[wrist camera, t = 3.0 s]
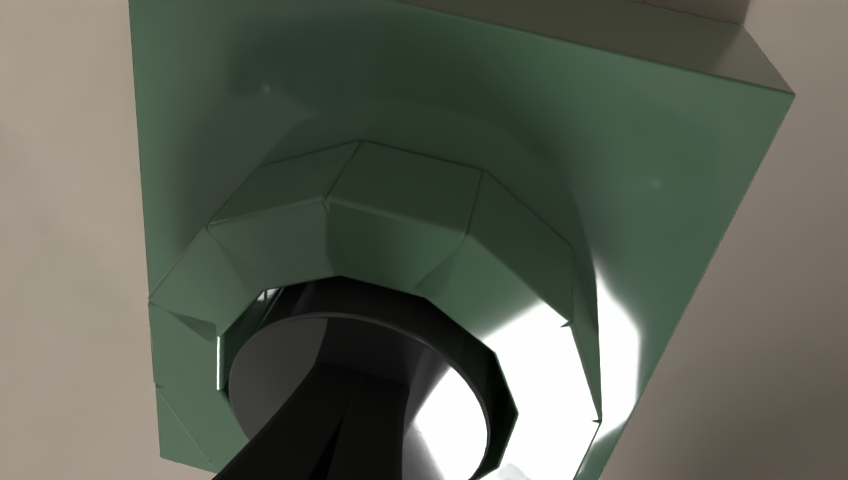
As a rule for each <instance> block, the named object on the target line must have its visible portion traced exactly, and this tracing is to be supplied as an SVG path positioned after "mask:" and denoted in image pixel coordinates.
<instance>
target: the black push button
mask: <svg viewBox="0 0 848 480" xmlns="http://www.w3.org/2000/svg"><path fill="white" fill-rule="evenodd" d="M320 362H325V363H329V364H332V365H336V366H340V367H344V368H347V369H351V370H355V371H359V372H362V373H366V374H370V375H373V376H377V377H381V378H385V379H389V380H392V381H396V382H400V383H404V384H405V386H406V387H407V388H408V390H409V391H410V393H409V397H408V401H407V406H406V412H405V420H404V430H403V448H402V480H471V479H472V478H473V477H474V475H475V474H476V473H477V471H478V470H479V469H480V467H481V466H482V464H483V462H484V460H485V458H486V456H487V453H488V449H489V445H490V441H491V433H492V426H493V418H494V411H495V403H496V396H497V388H498V381H499V373H500V369H499V366H498V364H497V361H496V358H495V356H494V353H493V352H492V351H491V350H490V349H489V348H487V347H486V346H485V345H484V344H482V343H481V342H480V341H479V340H477V339H476V338H475V337H474V336H472V335H471V334H470V333H469V332H467V331H466V330H465V329H464V328H462V327H461V326H460V325H459V324H457V323H456V322H455V321H454V320H452V319H451V318H450V317H449V316H447V315H446V314H445V313H444V312H442V311H441V310H440V309H439V308H437V307H436V306H435V305H434V304H432V303H431V302H430V301H429V300H427V299H426V298H424V297H420V296H416V295H413V294H409V293H405V292H401V291H397V290H393V289H390V288H386V287H382V286H378V285H374V284H370V283H366V282H363V281H359V280H355V279H351V278H347V277H343V276H336V277H331V278H326V279H321V280H316V281H311V282H306V283H301V284H296V285H291V286H285V287H280V288H277V289H276V291H275V293H274V294H273V296H272V297H271V299H270V301H269V302H268V304H267V305H266V307H265V309H264V310H263V312H262V314H261V315H260V317H259V318H258V320H257V322H256V323H255V325H254V326H253V328H252V330H251V331H250V333H249V335H248V336H247V338H246V339H245V341H244V343H243V344H242V346H241V347H240V349H239V351H238V353H237V355H236V356H235V358H234V360H233V363H232V367H231V370H230V376H229V398H230V402H231V407H232V410H233V413H234V415H235V418H236V420H237V423H238V424H239V426H240V428H241V430H242V431H243V433H244V435H245V436H246V437H247V439H248V440H249V441H250V440H251V439H252V438H253V437H254V436H255V435H256V434H257V433H258V432H259V431H260V430H261V429H262V428H263V426H264V425H265V424H266V423H267V422H268V421H269V420H270V419H271V418H272V416H273V415H274V414H275V413H276V412H277V411H278V410H279V409H280V407H281V406H282V405H283V404H284V403H285V402H286V400H287V399H288V398H289V397H290V396H291V394H292V393H293V392H294V391H295V390H296V388H297V387H298V386H299V385H300V383H301V382H302V381H303V379H304V378H305V377H306V376H307V374H308V373H309V371H310V370H311V369H312V367H313V366H314V365H316V364H318V363H320Z"/></svg>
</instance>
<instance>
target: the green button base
mask: <svg viewBox="0 0 848 480" xmlns="http://www.w3.org/2000/svg"><path fill="white" fill-rule="evenodd" d="M129 14H130V29H131V43H132V57H133V72H134V86H135V100H136V115H137V129H138V143H139V157H140V172H141V186H142V200H143V215H144V229H145V243H146V258H147V272H148V286H149V298H148V299H149V303H148V308H149V322H150V336H151V350H152V364H153V377H154V383H155V386H156V401H157V415H158V429H159V444H160V457H161V458H163V459H167V460H171V461H174V462H178V463H181V464H185V465H188V466H192V467H195V468H199V469H203V470H206V471H210V472H213V473H217V474H218V473H219V472H220V471H221V470H222V469H223V468H224V467H225V466H226V465H227V464H228V463H229V462H230V461H231V460H232V459H233V458H234V457H235V456H236V455H237V454H238V453H239V452H240V451H241V450H242V449H243V447H244V446H245V445H246V444H247V443H248V442H249V440H248V439H247V437H246V436H245V435H244V433H243V431H242V430H241V428H240V426H239V424H238V423H237V420H236V418H235V415H234V413H233V410H232V407H231V402H230V398H229V376H230V370H231V367H232V363H233V360H234V358H235V356H236V355H237V353H238V351H239V349H240V347H241V346H242V344H243V343H244V341H245V339H246V338H247V336H248V335H249V333H250V331H251V330H252V328H253V326H254V325H255V323H256V322H257V320H258V318H259V317H260V315H261V314H262V312H263V310H264V309H265V307H266V305H267V304H268V302H269V301H270V299H271V297H272V296H273V294H274V293H275V291H276V289H277V288H280V287H285V286H291V285H296V284H301V283H306V282H311V281H316V280H321V279H326V278H331V277H336V276H343V277H347V278H351V279H355V280H359V281H363V282H366V283H370V284H374V285H378V286H382V287H386V288H390V289H393V290H397V291H401V292H405V293H409V294H413V295H416V296H420V297H424V298H426V299H427V300H429V301H430V302H431V303H432V304H434V305H435V306H436V307H437V308H439V309H440V310H441V311H442V312H444V313H445V314H446V315H447V316H449V317H450V318H451V319H452V320H454V321H455V322H456V323H457V324H459V325H460V326H461V327H462V328H464V329H465V330H466V331H467V332H469V333H470V334H471V335H472V336H474V337H475V338H476V339H477V340H479V341H480V342H481V343H482V344H484V345H485V346H486V347H487V348H489V349H490V350H491V351H492V352H493V353H494V356H495V358H496V361H497V364H498V366H499V369H500V373H499V381H498V388H497V396H496V403H495V411H494V418H493V426H492V433H491V441H490V445H489V449H488V453H487V456H486V458H485V460H484V462H483V464H482V466H481V467H480V469H479V470H478V471H477V473H476V474H475V475H474V477H473V478H472V479H471V480H598V479H599V477H600V475H601V473H602V471H603V469H604V467H605V465H606V463H607V461H608V459H609V457H610V456H611V454H612V452H613V450H614V448H615V446H616V444H617V442H618V440H619V438H620V436H621V434H622V432H623V430H624V428H625V426H626V424H627V423H628V421H629V419H630V417H631V415H632V413H633V411H634V409H635V407H636V405H637V403H638V401H639V399H640V397H641V395H642V393H643V391H644V390H645V388H646V386H647V384H648V382H649V380H650V378H651V376H652V374H653V372H654V370H655V368H656V366H657V364H658V362H659V360H660V358H661V357H662V355H663V353H664V351H665V349H666V347H667V345H668V343H669V341H670V339H671V337H672V335H673V333H674V331H675V329H676V327H677V325H678V324H679V322H680V320H681V318H682V316H683V314H684V312H685V310H686V308H687V306H688V304H689V302H690V300H691V298H692V296H693V294H694V292H695V291H696V289H697V287H698V285H699V283H700V281H701V279H702V277H703V275H704V273H705V271H706V269H707V267H708V265H709V263H710V261H711V259H712V257H713V256H714V254H715V252H716V250H717V248H718V246H719V244H720V242H721V240H722V238H723V236H724V234H725V232H726V230H727V228H728V226H729V224H730V223H731V221H732V219H733V217H734V215H735V213H736V211H737V209H738V207H739V205H740V203H741V201H742V199H743V197H744V195H745V193H746V191H747V190H748V188H749V186H750V184H751V182H752V180H753V178H754V176H755V174H756V172H757V170H758V168H759V166H760V164H761V162H762V160H763V158H764V157H765V155H766V153H767V151H768V149H769V147H770V145H771V143H772V141H773V139H774V137H775V135H776V133H777V131H778V129H779V127H780V125H781V124H782V122H783V120H784V118H785V116H786V114H787V112H788V110H789V108H790V106H791V104H792V102H793V100H794V98H795V93H794V91H793V90H792V89H791V88H790V86H789V85H788V84H787V82H786V81H785V80H784V78H783V77H782V76H781V74H780V73H779V72H778V71H777V69H776V68H775V67H774V65H773V64H772V63H771V61H770V60H769V59H768V58H767V56H766V55H765V54H764V52H763V51H762V50H761V48H760V47H759V46H758V44H757V43H756V42H755V41H754V39H753V38H752V37H751V35H750V34H749V33H748V31H747V30H746V29H745V28H744V27H743V26H740V25H735V24H731V23H727V22H722V21H718V20H714V19H709V18H705V17H701V16H696V15H692V14H687V13H683V12H679V11H674V10H670V9H666V8H661V7H657V6H652V5H648V4H644V3H639V2H635V1H631V0H129Z"/></svg>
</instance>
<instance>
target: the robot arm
mask: <svg viewBox="0 0 848 480" xmlns="http://www.w3.org/2000/svg"><path fill="white" fill-rule="evenodd" d="M409 393H410V391H409V390H408V388H407V387H406V386H405V384H404V383H400V382H396V381H392V380H389V379H385V378H381V377H377V376H373V375H370V374H366V373H362V372H359V371H355V370H351V369H347V368H344V367H340V366H336V365H332V364H329V363H325V362H320V363H318V364H316V365H314V366H313V367H312V369H311V370H310V371H309V373H308V374H307V376H306V377H305V378H304V379H303V381H302V382H301V383H300V385H299V386H298V387H297V388H296V390H295V391H294V392H293V393H292V394H291V396H290V397H289V398H288V399H287V400H286V402H285V403H284V404H283V405H282V406H281V407H280V409H279V410H278V411H277V412H276V413H275V414H274V415H273V416H272V418H271V419H270V420H269V421H268V422H267V423H266V424H265V425H264V426H263V428H262V429H261V430H260V431H259V432H258V433H257V434H256V435H255V436H254V437H253V438H252V439H251V440H250V441H249V442H248V443H247V444H246V445H245V446H244V447H243V449H242V450H241V451H240V452H239V453H238V454H237V455H236V456H235V457H234V458H233V459H232V460H231V461H230V462H229V463H228V464H227V465H226V466H225V467H224V468H223V469H222V470H221V471H220V472H219V473H218V474H217V475H216V476H215V477H214V478H213V479H212V480H402V448H403V430H404V420H405V412H406V406H407V401H408V397H409Z"/></svg>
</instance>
